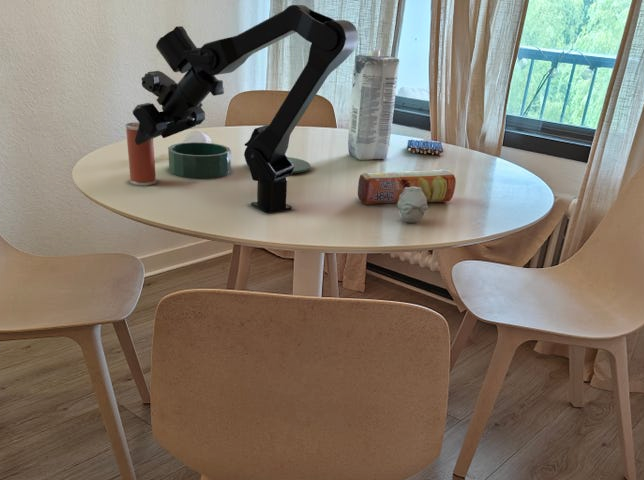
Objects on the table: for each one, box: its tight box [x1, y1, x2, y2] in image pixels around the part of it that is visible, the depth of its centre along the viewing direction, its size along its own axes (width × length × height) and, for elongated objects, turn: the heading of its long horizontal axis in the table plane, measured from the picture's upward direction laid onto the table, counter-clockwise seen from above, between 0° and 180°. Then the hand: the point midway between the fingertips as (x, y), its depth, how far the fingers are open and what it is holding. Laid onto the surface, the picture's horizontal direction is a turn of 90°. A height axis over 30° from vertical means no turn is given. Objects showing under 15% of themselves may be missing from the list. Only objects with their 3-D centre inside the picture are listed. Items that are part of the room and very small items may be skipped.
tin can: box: [125, 121, 157, 187], centre depth 143 cm, size 6×6×12 cm
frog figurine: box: [396, 186, 428, 224], centre depth 130 cm, size 6×7×7 cm
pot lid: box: [287, 156, 311, 174], centre depth 163 cm, size 16×16×6 cm
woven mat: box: [406, 139, 444, 156], centre depth 191 cm, size 10×11×2 cm
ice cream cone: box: [181, 130, 212, 143], centre depth 170 cm, size 6×6×15 cm
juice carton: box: [347, 50, 400, 161], centre depth 174 cm, size 9×10×27 cm
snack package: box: [357, 169, 457, 205], centre depth 143 cm, size 21×7×7 cm, turn 105°
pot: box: [167, 142, 232, 180], centre depth 157 cm, size 15×15×5 cm
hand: (149, 139), depth 141 cm, fingers open, 9 cm apart
